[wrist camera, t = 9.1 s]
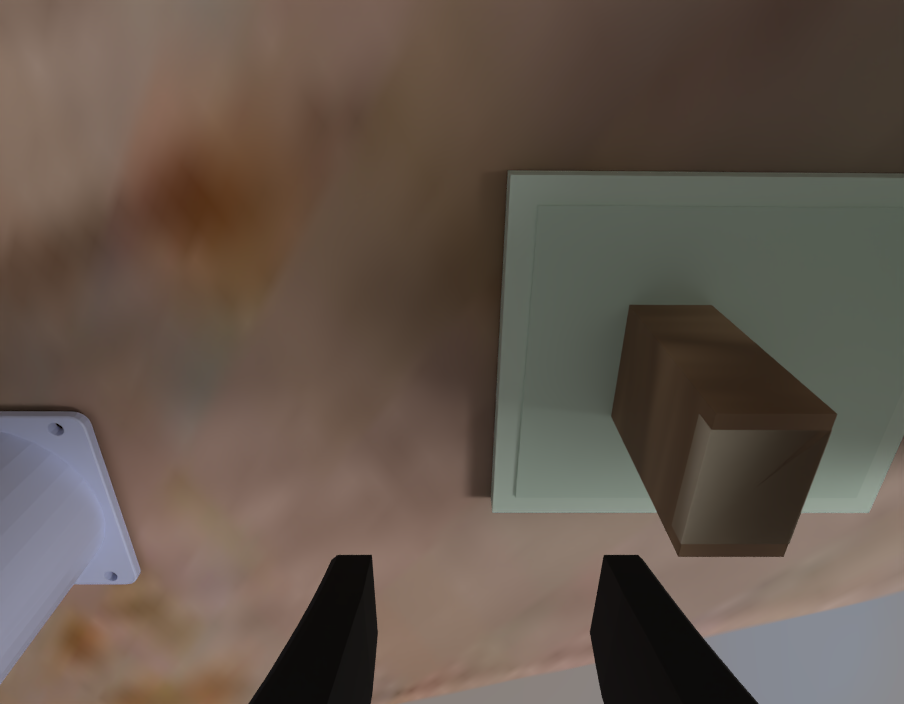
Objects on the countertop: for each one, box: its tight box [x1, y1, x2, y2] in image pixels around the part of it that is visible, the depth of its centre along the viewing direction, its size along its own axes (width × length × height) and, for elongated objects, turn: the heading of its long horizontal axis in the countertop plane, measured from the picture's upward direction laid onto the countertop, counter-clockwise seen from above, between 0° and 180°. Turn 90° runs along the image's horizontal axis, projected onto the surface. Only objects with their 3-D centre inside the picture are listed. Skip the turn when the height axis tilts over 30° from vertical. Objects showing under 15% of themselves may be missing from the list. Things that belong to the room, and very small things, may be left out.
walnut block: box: [611, 305, 837, 557], centre depth 15 cm, size 2×4×6 cm, turn 0°
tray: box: [491, 170, 904, 513], centre depth 18 cm, size 14×12×1 cm
